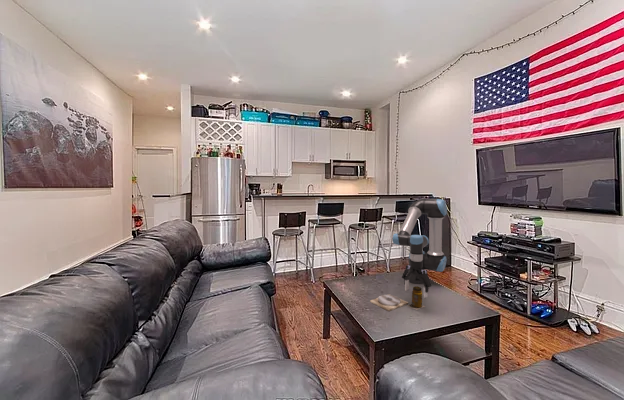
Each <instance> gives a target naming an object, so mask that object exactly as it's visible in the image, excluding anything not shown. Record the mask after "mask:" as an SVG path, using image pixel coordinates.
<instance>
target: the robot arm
mask: <svg viewBox="0 0 624 400" xmlns="http://www.w3.org/2000/svg"><path fill="white" fill-rule="evenodd" d="M407 212H408V213H407V215H406V218H405V219H404V221H403V223H402V225H401V227H400V229H399V232H398V233H397V232H396V233H394V234H393V236H392V243H393V244H394V245H396V246H404V247H409V253H408V265H405V269H404V271H403V273H402V275H401V278H402V279H403V280H404V281H403V282H404V283H403V284H404V290H405V291H406V292H407V291H409V290H410V284H411V283H412V284H415V285H422V284H423V295H422V298H423V299H425V298H428V293H429V288H431V287H432V286H433V285H432V282H431V280H430V276H429V275H428V270H429V271H435V272H440V273H441V272H443V271H444V270H445V268H446V265H447V256H445V253H444V252H443V251H442V250H443V249H442V247H443V245H442V244H443V241H442V239H443V219H445V216H447V213H448V206H447V202H446V200H444V199H441V198H419V199H418V200H416V201H414V202H413V203H411V205H410V206H409V208H408V209H407ZM422 215H426V217H427V218H428V219H429V222H428V223H429V224H428V225H429V227H428V229H429V230H428V231H429V233H428V234H429V236H428V237H427V236H426V235H424V234H423V235H422V234H412V232H413V230H414V228H415V226H416V223H417V221H418V219H419V217H421V216H422ZM427 246H428V247H429V248H428V251H427V252H425V251H424V248H426V247H427Z"/></svg>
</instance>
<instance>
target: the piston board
mask: <svg viewBox="0 0 624 400" xmlns="http://www.w3.org/2000/svg"><path fill="white" fill-rule="evenodd" d="M369 303H371V304H373V305H375V306H377V307H379V308H381V309H384V310H385V311H387V312H391V311H394V310H397V309H398V308H401V307H405V306H407V305H409V301H406V300H404V299H401V298H400V297H399V296H396V295H392V294H390V293H389V294H382V295H379V296H378V297H377V298H374V299H371V300H369Z"/></svg>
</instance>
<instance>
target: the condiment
mask: <svg viewBox="0 0 624 400" xmlns="http://www.w3.org/2000/svg"><path fill="white" fill-rule="evenodd" d="M406 306H407V307H408V308H410V309H414V310H415V311H418V310H421V309H423V308H425V307H426V306H425V305H423V289H422V287H420V286H417V285H416V286H415V285H414V286H413V287H412V291H411V303H410V304H407V305H406Z"/></svg>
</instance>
